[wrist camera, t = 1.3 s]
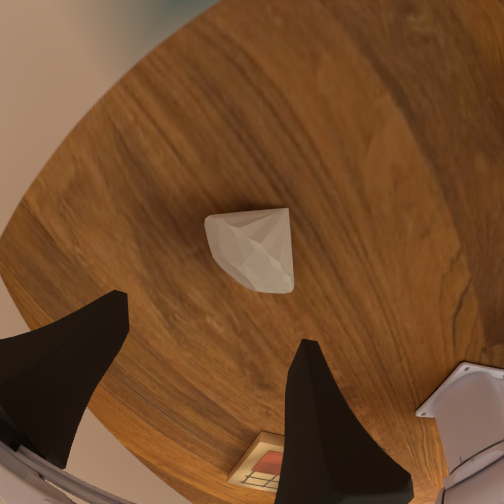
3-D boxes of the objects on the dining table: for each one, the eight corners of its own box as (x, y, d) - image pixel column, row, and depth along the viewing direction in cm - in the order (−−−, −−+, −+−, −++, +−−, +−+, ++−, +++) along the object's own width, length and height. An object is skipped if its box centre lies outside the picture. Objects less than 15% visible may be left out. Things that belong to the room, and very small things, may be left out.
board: (385, 448, 28) (387, 459, 27) (326, 489, 36) (326, 498, 34) (261, 430, 28) (259, 442, 27) (227, 474, 36) (226, 483, 34)
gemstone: (352, 229, 15) (295, 309, 14) (308, 251, 21) (263, 308, 20) (259, 148, 15) (190, 219, 13) (240, 192, 21) (190, 246, 19)
